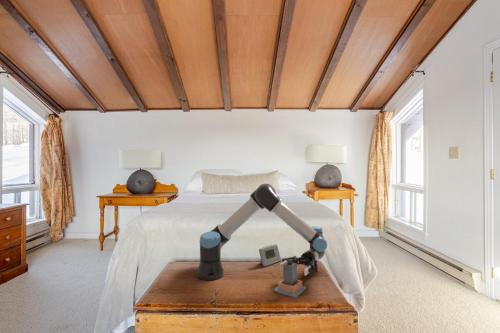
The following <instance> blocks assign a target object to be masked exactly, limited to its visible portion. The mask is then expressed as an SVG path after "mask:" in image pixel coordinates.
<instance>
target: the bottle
mask: <svg viewBox="0 0 500 333" xmlns="http://www.w3.org/2000/svg"><path fill="white" fill-rule="evenodd" d="M297 269H298V265H297V263H292V259H288V262H286V263H285V264H283V269H282V270H283V271H282V273H283V278H282V280H283V283H284V284H287V285H291V286H294V285H295V284H297V280H298V270H297Z"/></svg>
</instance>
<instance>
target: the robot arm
mask: <svg viewBox="0 0 500 333" xmlns="http://www.w3.org/2000/svg"><path fill="white" fill-rule="evenodd" d="M264 209H266V210H267V211H268V212H269V213H274V215H276V216H277V217H278V218H279V219H280V220H281V221H282V222H284V223H285V224H286V225H287V226H289V227H290V229H292V230H293V231H294V232H295V233H297V234H298V235H299V236H301V238H303V239H304V240H305V241H306V242H307V243H309V249H308V250H306V251H304V252H303V253H301V256H300V257H297V256H296V255H293V256H290V257H286V258H285V257H284V258H281V263H279V269H280V270H283V264H285V263H286V262H288V259H292V263H297V266H299V265H300V266H301V265H303V266H306V267H305V269H304V270H303V271H304V272H303V273H304V276H307V275H308V274H310V273H312V272H316V273H317V272H318V271H319V268H318V261H320V260H321V259H323V257H324V256H325V253H326V250H327V248H328V242H327V240H326V238H325V237H324V235H323V233H324V232H323V228H322V227H321V226H316V225H315V226H311V225H309V224H308V223H307V222H306V221H305V220H304V219H303V218H301V217H300V216H299V214H296V213H295V212H294V211H293V210H292V209H291V208H289V207H288V206H287V205H286V204H285V203H284V202H283V201H282V198H280V197H279V196H278V195H277V192H276V190H275V188H274V186H272V185H271V184H269V183H262V184H260V185H259V186H258V187H257V188H256V189H255V190H254V191H253V192H252V193H251V194H250V195H249V199H248V200H247V201H246V202H245V203H244V204H242V206H240V207H239V208H238V209H237V210H236V211H234V212H233V213H232V214H231V216H229V218H227V219H226V220H225V221H224V222H223V223H222V224H220V223H219V224H217V225H216V226H215V227H214V228H213V229H211V230H210V231H207V232H203V233H202V234H201V235H200V237H199V263H198V268H197V270H196V277H197V278H198V279H199V280H202V281H214V280H218V279H221V278H222V277H223V276H224V273H225V272H224V271H225V270H224V268H223V264H222V261H221V260H222V258H221V250H222V248H223V246H225V245H226V244H227V243H228V242H229V241H230V240H231V239H232V235H233V234H234V233H235V232H236V231H237V230H238V229H239V228H241V227H242V226H243V225H244V224H245V223H246V222H247V221H249V220H250V218H252V217H253V215H254V214H256V213H257V212H258V211H259V210H264Z"/></svg>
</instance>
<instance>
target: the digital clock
mask: <svg viewBox="0 0 500 333" xmlns="http://www.w3.org/2000/svg"><path fill="white" fill-rule="evenodd" d="M258 252H259V256H260V264H261V265H262V267H267V266H268V267H269V266H271V265H275V264H277V263H278V262H280V261H282V258H281V255H280V254H281V253H280V250H279V246H278V244H276V243H274V244H270V245H267V246H263V247H260V248H259V249H258Z"/></svg>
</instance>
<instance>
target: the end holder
mask: <svg viewBox="0 0 500 333" xmlns="http://www.w3.org/2000/svg"><path fill="white" fill-rule="evenodd" d="M305 290H307V286H306V285H303V280H301V279H297V284H295V285H294V286H291V285H287V284H284V283H283V279H282V280H280V281H279V282H277V286H276V287H275V288H274V289H273V292H275V293H278V294H281V295H285V296H289V297H292V298H293V299H294V298H295V299H296V298H298V297H299V295H301V294H302V293H303V292H304V291H305Z"/></svg>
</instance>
